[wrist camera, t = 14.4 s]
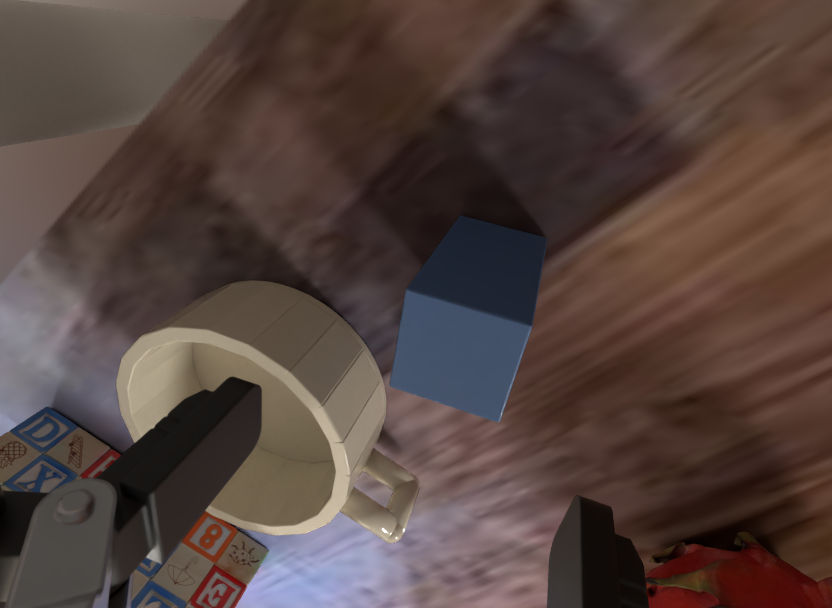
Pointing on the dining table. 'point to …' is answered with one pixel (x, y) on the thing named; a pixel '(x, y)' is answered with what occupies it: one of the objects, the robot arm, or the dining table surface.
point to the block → (469, 317)
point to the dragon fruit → (731, 579)
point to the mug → (277, 406)
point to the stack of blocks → (153, 582)
